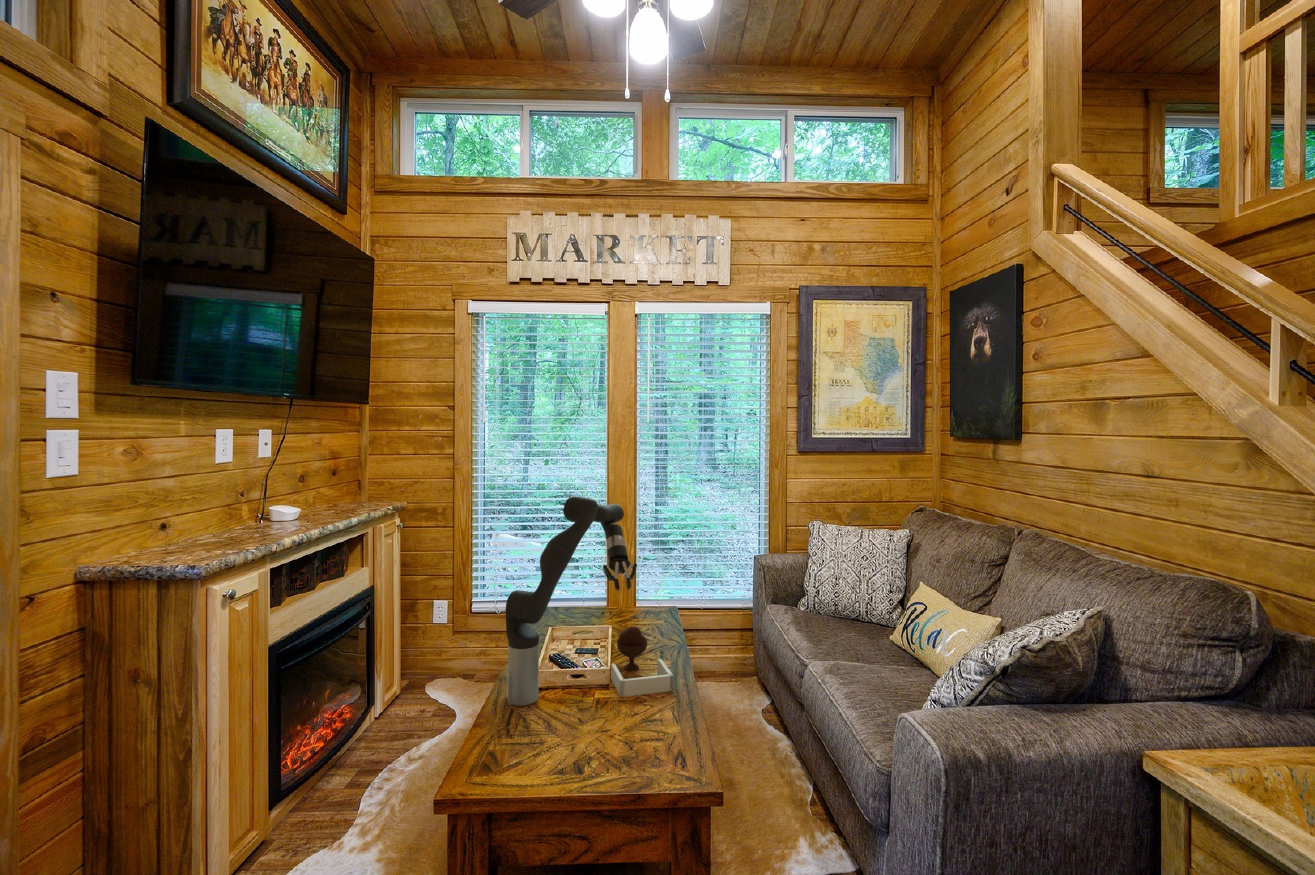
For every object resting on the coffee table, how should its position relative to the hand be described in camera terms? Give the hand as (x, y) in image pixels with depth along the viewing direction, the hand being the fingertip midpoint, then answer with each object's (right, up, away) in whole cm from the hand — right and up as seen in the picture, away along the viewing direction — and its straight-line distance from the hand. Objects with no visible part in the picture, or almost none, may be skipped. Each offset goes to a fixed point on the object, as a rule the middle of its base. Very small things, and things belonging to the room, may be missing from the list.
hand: (623, 589), depth 218 cm
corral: (+7, -25, -25) cm, 36 cm away
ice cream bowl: (+4, -25, -13) cm, 28 cm away
